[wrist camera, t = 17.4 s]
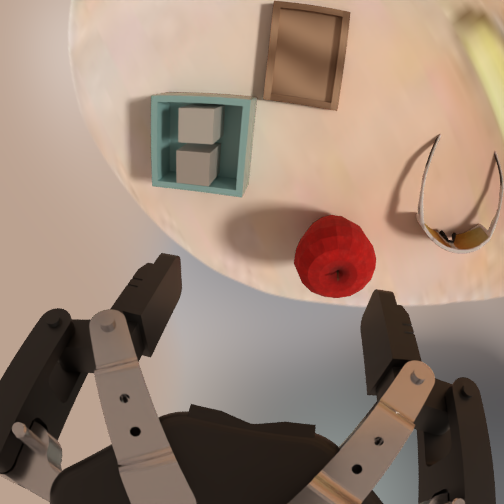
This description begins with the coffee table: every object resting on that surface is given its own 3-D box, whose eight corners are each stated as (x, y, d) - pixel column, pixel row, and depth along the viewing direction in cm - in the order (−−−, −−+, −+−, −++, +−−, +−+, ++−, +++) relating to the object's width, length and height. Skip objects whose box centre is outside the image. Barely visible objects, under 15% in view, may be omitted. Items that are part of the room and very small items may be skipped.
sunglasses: (402, 234, 40) (413, 248, 36) (419, 129, 34) (434, 131, 29) (477, 245, 38) (492, 259, 34) (497, 152, 32) (516, 157, 27)
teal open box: (167, 92, 34) (151, 95, 30) (257, 96, 33) (251, 99, 30) (166, 174, 41) (152, 186, 37) (248, 184, 40) (242, 197, 36)
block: (191, 140, 37) (176, 150, 33) (221, 143, 37) (210, 153, 32) (190, 169, 39) (176, 182, 35) (219, 172, 39) (208, 186, 35)
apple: (284, 243, 44) (278, 293, 35) (318, 188, 38) (323, 228, 29) (342, 272, 45) (348, 324, 36) (379, 223, 40) (398, 269, 31)
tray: (274, 3, 26) (274, 0, 25) (348, 14, 26) (350, 12, 25) (264, 98, 33) (263, 99, 32) (336, 109, 33) (337, 110, 32)
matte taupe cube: (193, 103, 34) (178, 107, 30) (225, 104, 34) (214, 109, 30) (192, 133, 36) (178, 142, 32) (223, 135, 36) (212, 144, 32)
